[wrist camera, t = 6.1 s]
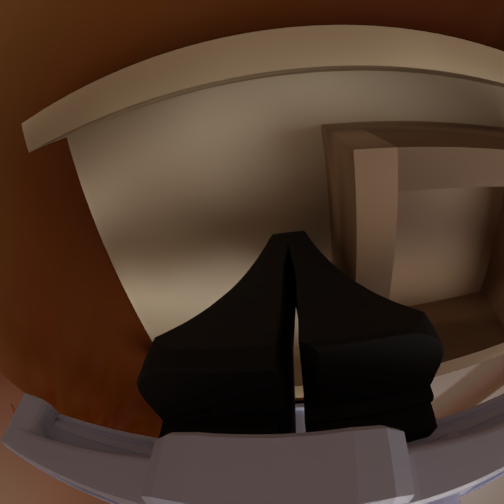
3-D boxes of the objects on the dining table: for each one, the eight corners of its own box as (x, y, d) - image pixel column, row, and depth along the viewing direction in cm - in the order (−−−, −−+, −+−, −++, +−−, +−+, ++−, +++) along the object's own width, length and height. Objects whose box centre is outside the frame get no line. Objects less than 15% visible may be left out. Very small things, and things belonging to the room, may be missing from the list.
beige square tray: (479, 291, 12) (516, 348, 8) (332, 317, 14) (345, 395, 10) (507, 128, 8) (578, 159, 4) (320, 124, 9) (353, 150, 5)
